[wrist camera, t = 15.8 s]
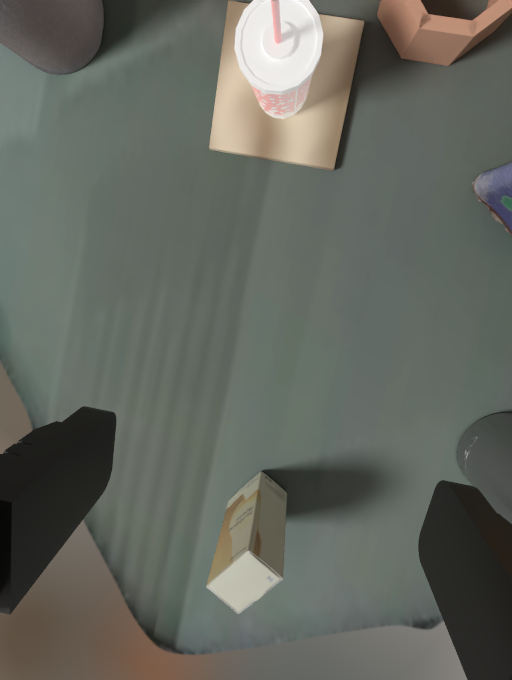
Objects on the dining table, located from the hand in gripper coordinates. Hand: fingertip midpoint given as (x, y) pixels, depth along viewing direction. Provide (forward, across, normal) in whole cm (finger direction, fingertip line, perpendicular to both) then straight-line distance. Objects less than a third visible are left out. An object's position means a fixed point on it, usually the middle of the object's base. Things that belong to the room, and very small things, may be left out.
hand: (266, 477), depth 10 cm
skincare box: (+32, -1, +24) cm, 40 cm away
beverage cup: (+32, +4, -19) cm, 37 cm away
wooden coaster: (+32, +4, -19) cm, 38 cm away
